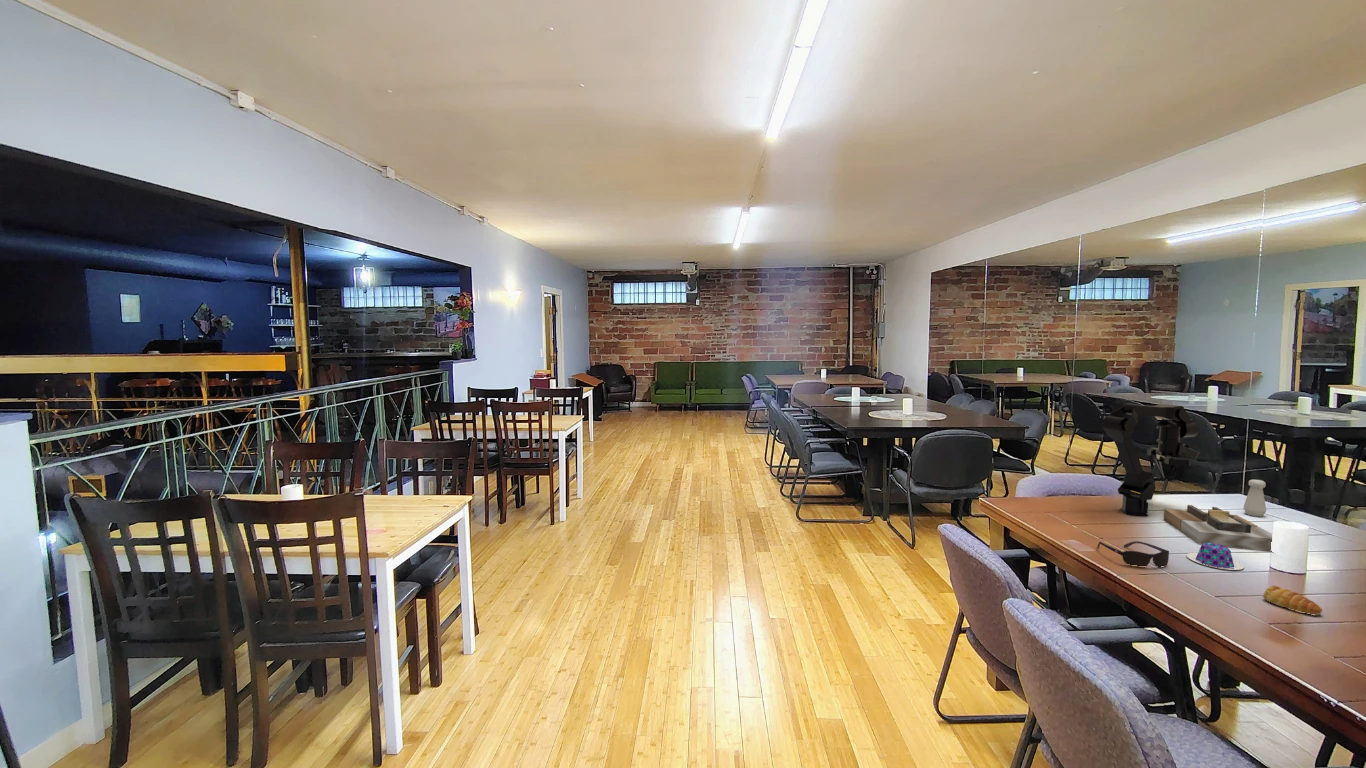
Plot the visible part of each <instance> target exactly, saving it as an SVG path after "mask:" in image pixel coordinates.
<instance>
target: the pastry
mask: <svg viewBox="0 0 1366 768" xmlns="http://www.w3.org/2000/svg"><path fill="white" fill-rule="evenodd" d="M1262 598H1263V599H1264V600H1266V601H1267V602H1268V601H1269V602H1268V603H1270V602H1271V603H1272V604H1274V605H1276V606H1277V605H1280V606H1283V607H1287V608H1290V609H1294V610H1298V611H1301V612H1305V613H1310V614H1315V615H1314V616H1318V615H1321V614H1322V612H1323V609H1322V608H1321V606H1320V605H1318V604H1317V603H1316V602H1314V601H1313V600H1311V599H1309V598H1308V597H1306V596H1303V595H1301V594H1300V593H1298V592H1296V591H1292V590H1290V589H1288V588H1281V587H1280V586H1277V585H1270V586H1269V587H1267V588H1266V589H1265V591H1264V593H1263V595H1262ZM1271 603H1270V604H1271Z"/></svg>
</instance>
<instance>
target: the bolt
mask: <svg viewBox="0 0 1366 768" xmlns="http://www.w3.org/2000/svg"><path fill="white" fill-rule="evenodd" d="M1221 510H1222V509H1221ZM1221 510H1212V509H1209V508H1208V509H1207V512H1208V516H1211V517H1214V518H1216V519H1217V520H1219V521H1221V522H1229V523H1239V522H1238V521H1236V520H1234V519H1232V518H1230V517H1229V514H1230V511H1228V510H1223V511H1221ZM1207 519H1208V517H1207ZM1240 524H1241V523H1240Z"/></svg>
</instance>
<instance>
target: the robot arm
mask: <svg viewBox="0 0 1366 768" xmlns="http://www.w3.org/2000/svg"><path fill="white" fill-rule="evenodd" d="M1127 415H1131V416H1130V418H1128V417H1125V416H1127ZM1140 416H1145V417H1146V416H1147V417H1155V418H1157V419H1160V420H1159V421H1158V422H1156V423H1155V426H1156V427H1159V435H1158V438H1157V439H1156V440H1155V441H1156V443H1158V447H1149V448H1148V449H1146V450H1147V451H1146V455H1147V456H1150V457H1151V456H1156V458H1155V457H1154V458H1153V460H1154V462H1155V463H1156V465H1157V467H1158V469H1159V471H1160V474H1161V475H1162V478H1163V479H1164V480H1169V478H1171V475H1172V473H1173V471H1174V470H1175V468H1176V467H1178V466H1181V467H1190V466H1191V461H1192V460H1195V461H1196V460H1197V458H1198V456H1199V454H1200V451H1198V450H1194V449H1192V448H1191V446H1190V445H1188V444H1185V443H1183V442H1182V441H1180V439H1181V438H1194V437H1196V436H1198V435H1199V433H1200V428H1199V426H1198V424H1197V423H1195V419H1193V418H1190V416H1189V414H1188V412H1187V410H1186V409H1185V406H1183V405H1176V404H1168V403H1160V404H1156V405H1143V404H1135V403H1124V404H1122V406H1121V407H1120V408H1118V409H1115V410H1113V411H1111V412H1110V413H1109V414H1107V416H1105V417H1104V419H1102V422H1101V427H1102V429H1103V431H1104V432H1105V434H1106V435H1107V436H1108V437H1110V439H1112V440H1113V441H1114V445H1116V450H1117V452H1118V455H1119V457H1120V459H1121V463H1122V465H1123V467H1124V469H1125V474H1124V476H1123V482H1122V483H1121V485H1120V486H1119V487H1118V488H1117V493H1118V495H1121V496H1122V503H1121V504H1122V505H1121V507H1120V508H1119V511H1121V512H1123V513H1124V514H1125V515H1129V516H1141V517H1149V514H1148V513H1149V511H1148V510H1149V502H1148V501H1150V500H1151V501H1152V499H1153V497H1154V493H1155V491H1156V482H1157V481H1156V480H1155V478H1154V474H1153V473H1152V472H1151V471H1146V470H1144V469H1143V466H1142V463H1141V462H1140V458H1139V455H1138V452H1137V450H1136V447H1135V445H1134V442H1133V440H1132V437H1133V434H1134V432H1135V430H1134V428H1135V426H1137V425H1138V423H1139V418H1140ZM1189 458H1190V459H1192V460H1190V459H1189Z"/></svg>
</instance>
